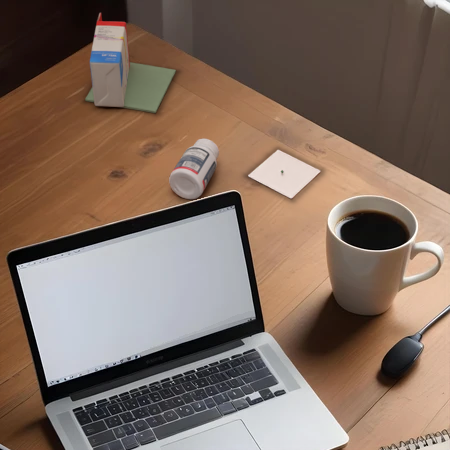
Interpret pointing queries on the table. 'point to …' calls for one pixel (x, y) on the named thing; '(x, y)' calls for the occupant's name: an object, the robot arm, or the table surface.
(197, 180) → the pill bottle
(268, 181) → the coaster
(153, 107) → the felt mat
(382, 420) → the table surface
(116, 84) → the ink box
